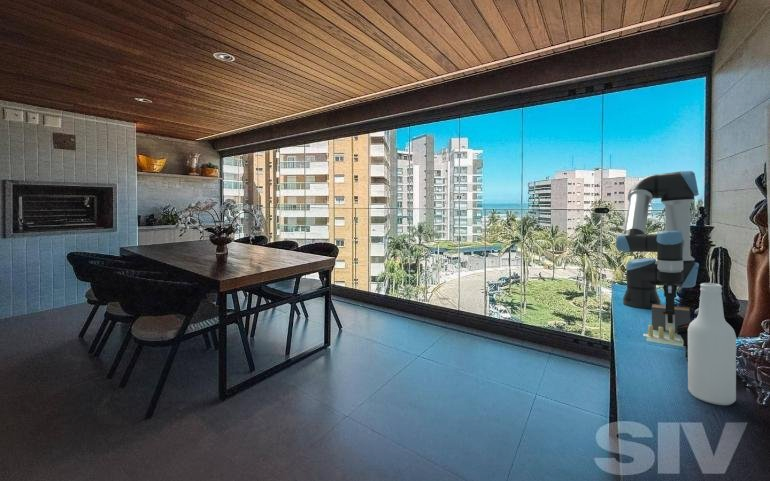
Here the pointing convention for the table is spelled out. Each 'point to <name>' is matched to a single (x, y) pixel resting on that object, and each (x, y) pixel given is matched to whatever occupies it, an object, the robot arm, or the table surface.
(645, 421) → the table surface
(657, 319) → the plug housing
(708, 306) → the alcohol
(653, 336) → the header board
